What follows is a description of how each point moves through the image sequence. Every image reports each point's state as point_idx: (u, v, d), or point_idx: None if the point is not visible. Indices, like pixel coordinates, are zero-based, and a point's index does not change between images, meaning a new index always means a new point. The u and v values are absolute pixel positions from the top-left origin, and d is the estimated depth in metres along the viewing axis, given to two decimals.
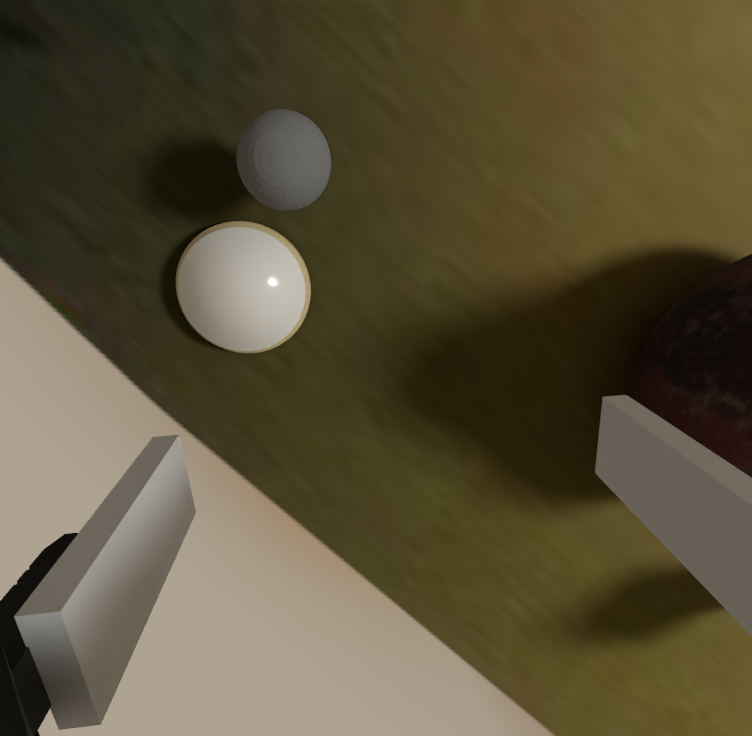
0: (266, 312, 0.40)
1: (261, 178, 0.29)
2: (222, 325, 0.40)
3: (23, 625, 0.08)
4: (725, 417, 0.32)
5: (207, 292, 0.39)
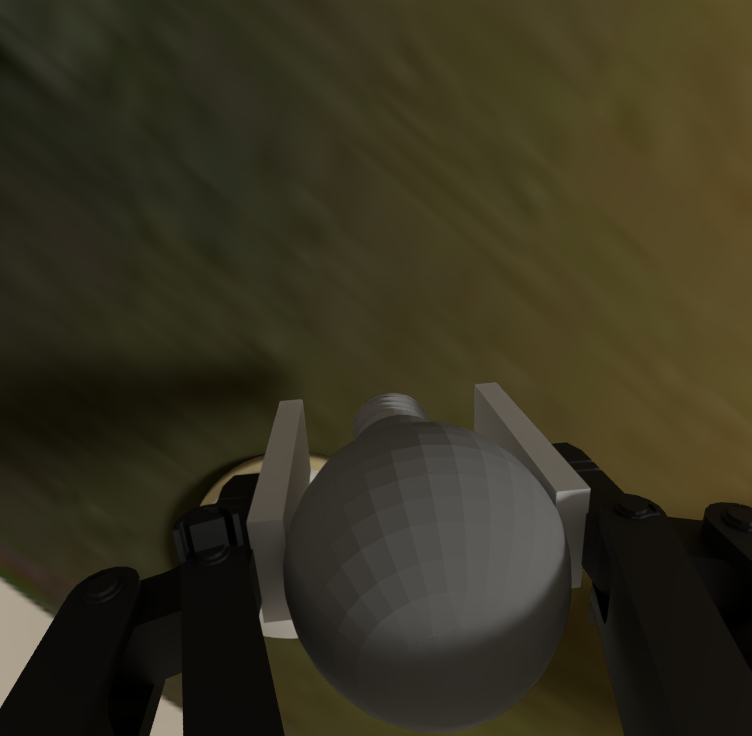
0: None
1: (377, 715, 0.08)
2: None
3: (252, 530, 0.10)
4: None
5: None
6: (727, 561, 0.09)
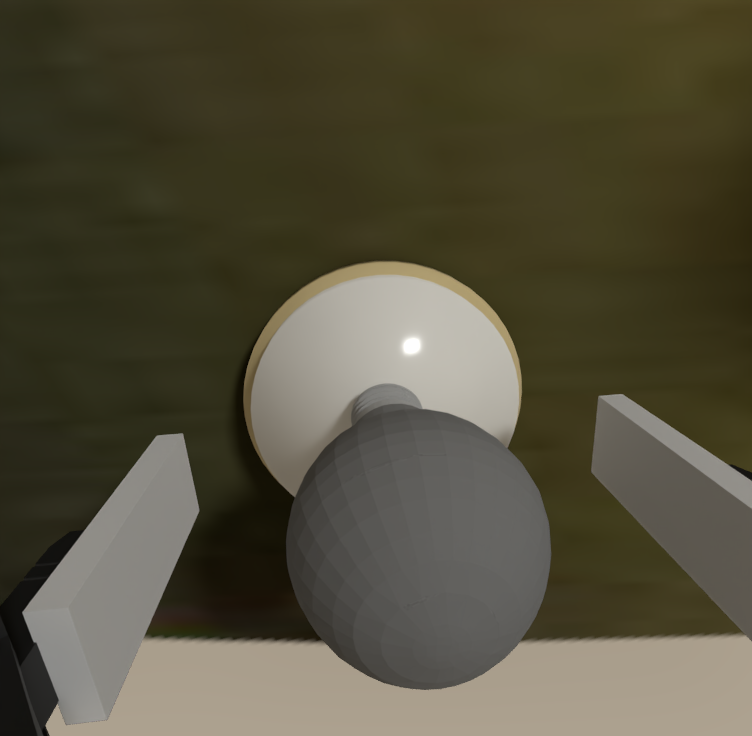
0: (453, 409, 0.18)
1: (372, 673, 0.09)
2: None
3: (31, 621, 0.08)
4: None
5: None
6: None
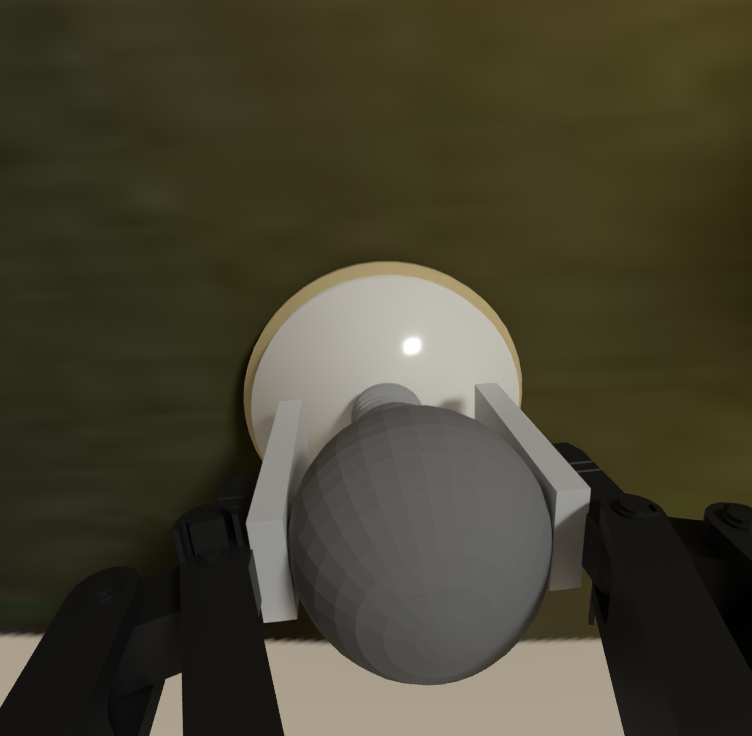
0: (453, 409, 0.18)
1: (374, 669, 0.09)
2: None
3: (252, 530, 0.10)
4: None
5: None
6: (727, 561, 0.09)
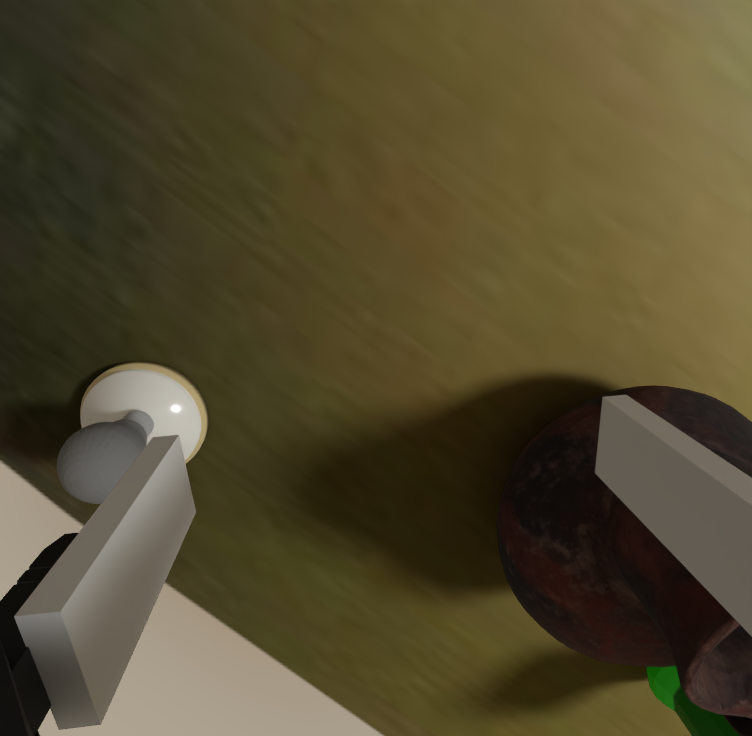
0: None
1: (100, 499, 0.34)
2: None
3: (23, 625, 0.08)
4: (556, 561, 0.36)
5: None
6: None
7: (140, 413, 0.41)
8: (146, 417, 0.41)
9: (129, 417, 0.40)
